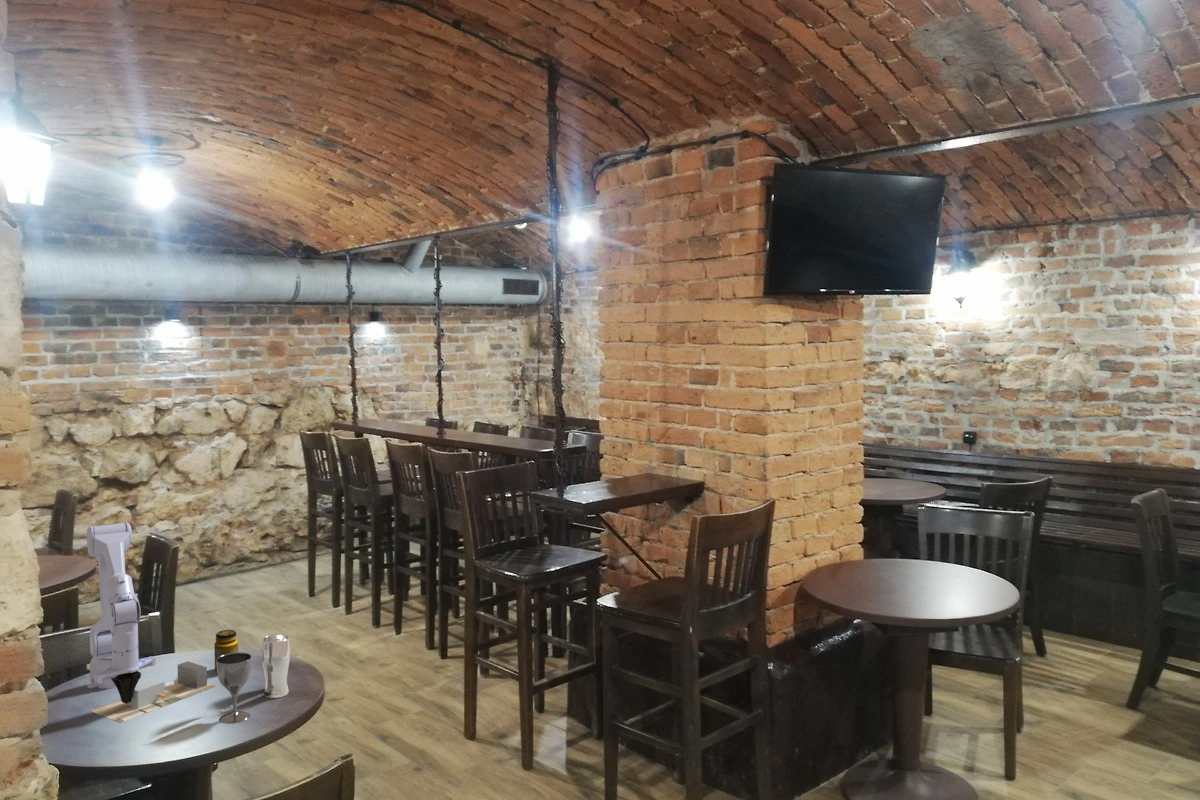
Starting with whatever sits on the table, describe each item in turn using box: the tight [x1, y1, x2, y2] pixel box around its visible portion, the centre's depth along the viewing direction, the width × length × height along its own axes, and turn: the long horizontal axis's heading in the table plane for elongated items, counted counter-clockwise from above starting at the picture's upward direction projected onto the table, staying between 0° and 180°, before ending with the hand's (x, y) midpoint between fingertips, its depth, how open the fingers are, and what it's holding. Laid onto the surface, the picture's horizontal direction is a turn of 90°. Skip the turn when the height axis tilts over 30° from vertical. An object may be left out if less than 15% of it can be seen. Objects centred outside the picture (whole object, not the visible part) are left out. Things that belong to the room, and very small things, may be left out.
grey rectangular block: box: [177, 661, 208, 689], centre depth 231 cm, size 8×3×5 cm, turn 60°
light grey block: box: [127, 677, 174, 709], centre depth 221 cm, size 7×11×4 cm
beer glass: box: [261, 633, 291, 699], centre depth 229 cm, size 7×7×15 cm
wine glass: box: [216, 651, 252, 724], centre depth 214 cm, size 8×8×15 cm
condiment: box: [214, 629, 239, 674], centre depth 241 cm, size 7×8×12 cm
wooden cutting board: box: [89, 678, 217, 724], centre depth 222 cm, size 13×26×1 cm, turn 150°
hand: (126, 702), depth 216 cm, fingers closed
